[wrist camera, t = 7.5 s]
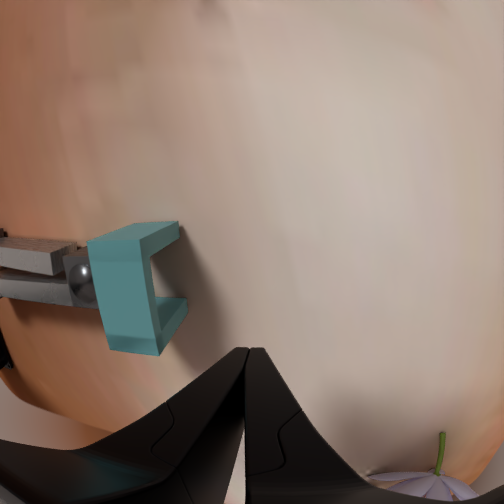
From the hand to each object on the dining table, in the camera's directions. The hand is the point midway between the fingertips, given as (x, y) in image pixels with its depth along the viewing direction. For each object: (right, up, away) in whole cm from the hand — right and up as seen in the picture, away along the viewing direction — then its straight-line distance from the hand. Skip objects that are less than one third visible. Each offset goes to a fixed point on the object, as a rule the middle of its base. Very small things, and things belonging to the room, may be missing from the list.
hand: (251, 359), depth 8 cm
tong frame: (-16, +2, +11) cm, 20 cm away
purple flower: (+17, -19, +13) cm, 29 cm away
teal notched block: (-6, +2, +10) cm, 11 cm away
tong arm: (-18, +4, +10) cm, 21 cm away
